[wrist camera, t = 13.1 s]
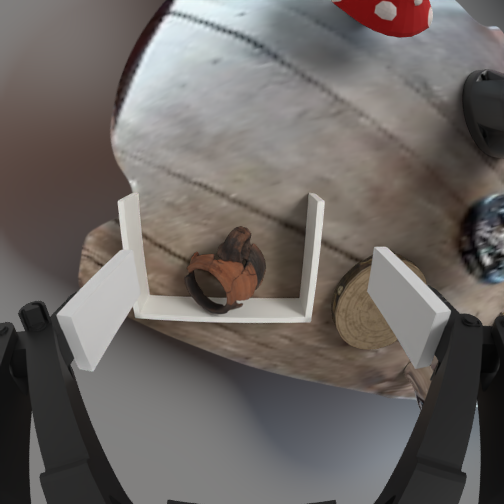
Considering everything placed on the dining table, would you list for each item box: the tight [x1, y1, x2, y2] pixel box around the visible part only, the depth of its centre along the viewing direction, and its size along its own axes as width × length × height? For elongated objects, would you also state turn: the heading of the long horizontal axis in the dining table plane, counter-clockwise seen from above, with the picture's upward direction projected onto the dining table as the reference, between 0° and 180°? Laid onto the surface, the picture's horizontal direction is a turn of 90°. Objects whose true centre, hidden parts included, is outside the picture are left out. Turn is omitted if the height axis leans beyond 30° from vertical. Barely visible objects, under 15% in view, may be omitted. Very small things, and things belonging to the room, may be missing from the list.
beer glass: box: [404, 362, 434, 410], centre depth 42 cm, size 7×7×15 cm
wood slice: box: [331, 254, 427, 349], centre depth 41 cm, size 16×16×3 cm
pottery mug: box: [184, 226, 266, 314], centre depth 37 cm, size 12×10×8 cm
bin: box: [118, 193, 325, 323], centre depth 36 cm, size 24×16×5 cm
